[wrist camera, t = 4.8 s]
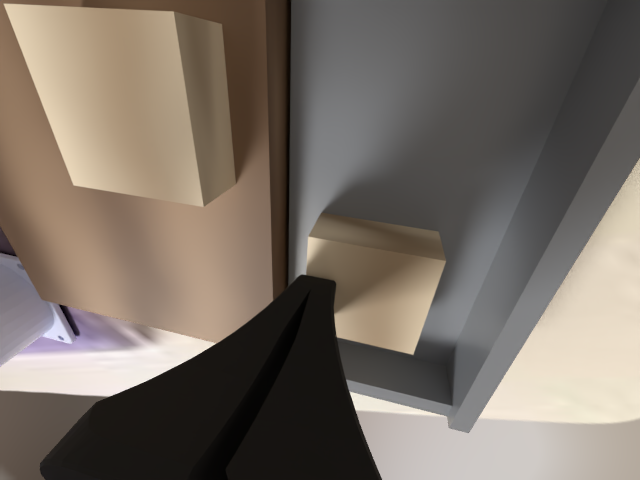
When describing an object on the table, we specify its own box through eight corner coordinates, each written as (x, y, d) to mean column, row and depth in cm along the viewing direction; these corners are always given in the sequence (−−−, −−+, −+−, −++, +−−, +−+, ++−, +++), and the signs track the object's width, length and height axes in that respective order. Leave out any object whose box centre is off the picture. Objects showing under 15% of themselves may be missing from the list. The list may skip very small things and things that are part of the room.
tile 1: (314, 298, 14) (303, 329, 12) (321, 212, 12) (307, 236, 10) (411, 318, 13) (413, 354, 12) (439, 231, 11) (446, 260, 9)
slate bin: (296, 320, 17) (271, 381, 14) (308, -94, 9) (249, -200, 5) (453, 355, 16) (468, 432, 12) (658, -99, 7) (892, -253, 4)
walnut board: (88, 269, 19) (41, 299, 17) (-57, -73, 11) (-192, -115, 9) (292, 314, 17) (274, 357, 14) (301, -74, 9) (261, -132, 6)
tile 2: (123, 167, 11) (73, 185, 9) (81, 16, 9) (3, 3, 7) (236, 184, 10) (203, 207, 8) (221, 24, 8) (173, 11, 6)
